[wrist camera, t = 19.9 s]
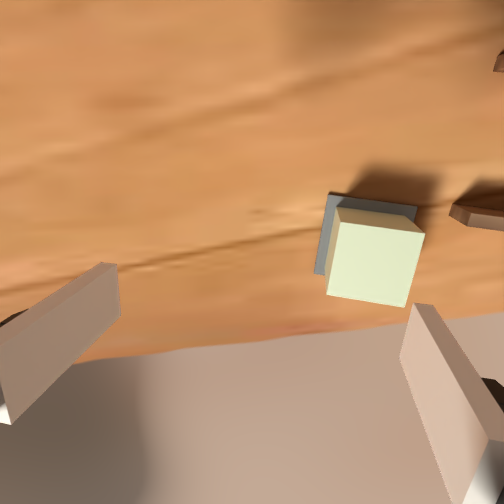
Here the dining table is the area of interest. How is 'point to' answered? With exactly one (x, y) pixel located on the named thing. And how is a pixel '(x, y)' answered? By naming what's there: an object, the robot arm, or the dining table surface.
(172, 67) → the dining table surface
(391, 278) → the sage block
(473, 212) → the walnut cubby
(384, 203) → the slate mat
